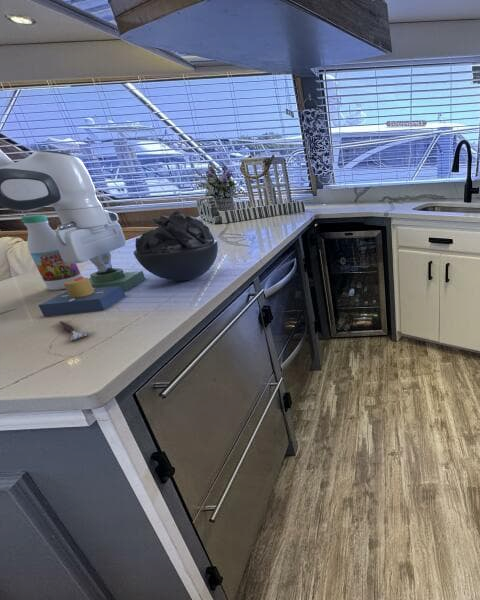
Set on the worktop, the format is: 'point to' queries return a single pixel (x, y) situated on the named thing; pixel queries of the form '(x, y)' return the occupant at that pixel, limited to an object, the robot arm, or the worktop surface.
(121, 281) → the green stepped base
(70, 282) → the dial
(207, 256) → the coal bowl
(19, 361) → the worktop surface
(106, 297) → the dial panel
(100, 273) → the black round button
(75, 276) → the milk bottle
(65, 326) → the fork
